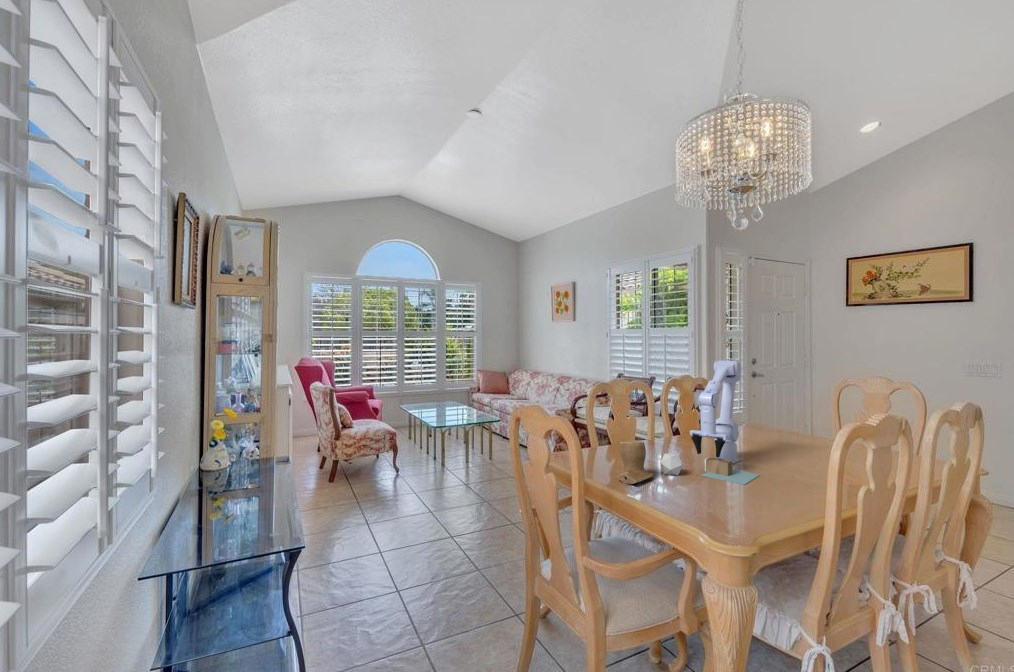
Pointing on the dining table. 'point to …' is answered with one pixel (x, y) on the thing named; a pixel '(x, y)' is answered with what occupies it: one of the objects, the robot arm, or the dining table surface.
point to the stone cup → (633, 462)
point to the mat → (734, 477)
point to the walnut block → (719, 466)
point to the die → (671, 464)
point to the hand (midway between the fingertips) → (708, 455)
